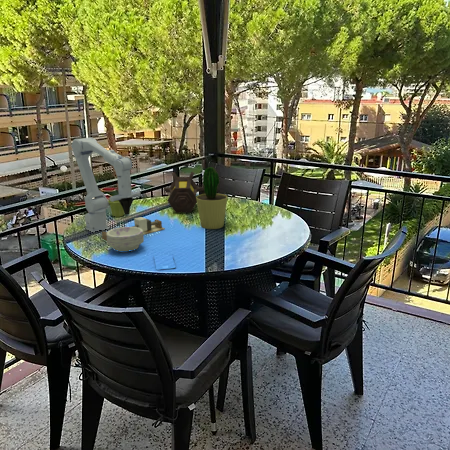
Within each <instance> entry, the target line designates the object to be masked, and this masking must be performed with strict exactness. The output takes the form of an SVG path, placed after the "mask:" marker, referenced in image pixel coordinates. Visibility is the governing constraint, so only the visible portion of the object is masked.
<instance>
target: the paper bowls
mask: <svg viewBox="0 0 450 450" xmlns="http://www.w3.org/2000/svg"><path fill="white" fill-rule="evenodd" d="M106 235H107V243H106V244H107V246H110V247H111V248H112V249H113V250H114V249H115V250H118V251H129V250H134V249H136V250H137V249H139V247H140V246H141V245H142V244H143V243H144V242H145V241H144V238H145V237H144V235H143V230H142V229H141V228H138V227H132V226H123V227H116V228H115V227H114V228H113V229H108V231H107V233H106ZM115 250H114V251H115ZM118 251H117V252H118ZM134 251H135V250H134Z"/></svg>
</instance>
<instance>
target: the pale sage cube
mask: <svg viewBox="0 0 450 450" xmlns="http://www.w3.org/2000/svg"><path fill="white" fill-rule="evenodd" d="M147 219H148V218H145V217H142V216H140V217H135V218H133V222H134V223H133V224H134V226H136V225H138V227H139V228H141V229H142V230H143V232H144V231H147Z"/></svg>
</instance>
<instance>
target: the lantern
mask: <svg viewBox="0 0 450 450" xmlns="http://www.w3.org/2000/svg"><path fill="white" fill-rule="evenodd" d="M194 174H195V172H193V171H191V173H190V174H189V175H188V176H177V174H176V173H175V171H174V172H172V173H171V175H172V178H173V180H172V182H171V184H170V186H169V187H163V191H165V192H167V193H170V194H169V197H168V198H167V203H168V204H169V206H170V207H171V208H172V210H173V211H174V213H175V214H178V213H179V214H180V213H181V214H182V213H184V214H185V213H192V211H193V210H194V209H195V207H196V205H197V200H196V197H197V193H198V192H202V191H204V187H203V186H198V185H197V184H196V182H195V181H194V179H193V177H194Z"/></svg>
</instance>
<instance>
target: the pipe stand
mask: <svg viewBox="0 0 450 450" xmlns="http://www.w3.org/2000/svg"><path fill="white" fill-rule="evenodd" d="M131 227H138V225H136V226H135V225H132V226H131ZM151 227H152V229H151V230H147V231H144V232H143V236H145V235H149V234H152V233H157V232H160V231H165V230H166V227H165V228H164V227H163V223H162V220H159V219H154V221H151ZM138 228H139V227H138ZM107 232H108V231H107ZM107 232H106V231H101V236H102V237H101V238H102V239H104V240H106V241H107V235H106V233H107Z"/></svg>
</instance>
